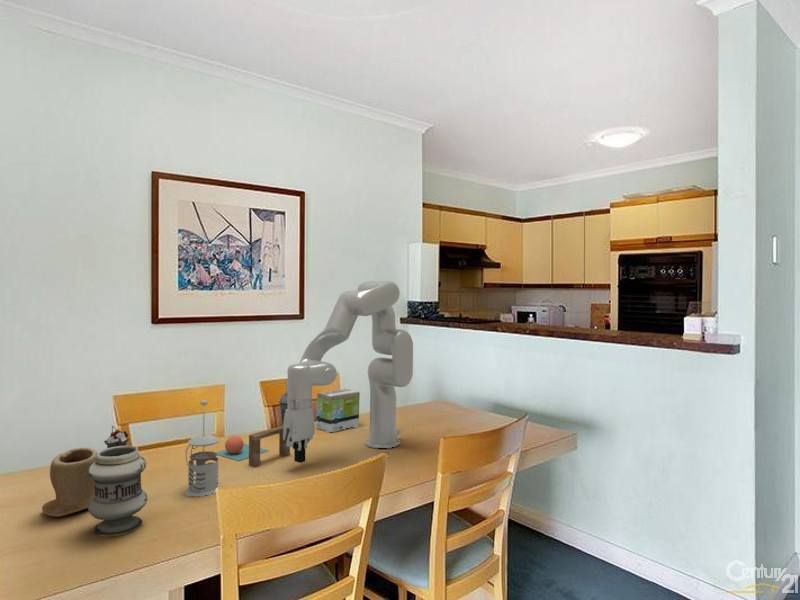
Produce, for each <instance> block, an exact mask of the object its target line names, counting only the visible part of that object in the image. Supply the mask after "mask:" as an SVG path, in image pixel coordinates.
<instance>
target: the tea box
mask: <svg viewBox="0 0 800 600" xmlns="http://www.w3.org/2000/svg"><path fill="white" fill-rule="evenodd" d="M360 394H361V393H360V391H356V390H352V389H346V388H343V389H335V390H330V391H329V390H328V391H322V392H317V394H316V419H315V420H316V421H315V423H316V424H315V429H317V428H318V429H317V430H320V429H321V431H323V430H324V432H326V431H328V432H327V433H330V432H332V433H334V432H335V433H336V432H339V431H343V429H344V430H347V429H346V428H349V429H351V428H350V427H354V426H357V425H359V423H360V398H361V397H360ZM359 426H360V425H359ZM354 428H355V427H354Z"/></svg>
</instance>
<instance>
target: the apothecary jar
mask: <svg viewBox="0 0 800 600" xmlns="http://www.w3.org/2000/svg"><path fill="white" fill-rule="evenodd" d="M146 467H147V460H146V459H145V458H144V456H142V455H141V454H140V452H139V448H138V447H137V446H135V445H126V446H117V447H111V448H107V447H106V448H104V449H101V450H100V451H97V458H96V461H95V462H94V463H93V464H92V465H91V466H90V468H89V471H88V473H89V476H90V477H91V478H92V479H93V480H94V481H95V496H94V498H93V499H92V500H91V502H90V504H89V507H88V508H87V509H88V513H89V514H90V515H91V516H92V518H94V519H97V520H101V522H99V523H97V525H95V527H94V529H93V533H94V534H97V536H99V537H104V538H105V537H106V538H109V537H111V538H112V537H118V536H123V535H126V534H129V533H131V532H134V531H136V530H137V529H139V528H140V527H141V526H142V523H143V520H142V519H141V518H140V516H137V515H136V514H137V513H138V512H140V511H142V509H143V508H144V507H145V506H146V505H147V502H148V494H147V492H146V491H145V490H144V489H143V488H142V474H141V473H143V472H144V471H145V470H146Z"/></svg>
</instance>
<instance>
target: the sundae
mask: <svg viewBox="0 0 800 600" xmlns="http://www.w3.org/2000/svg"><path fill="white" fill-rule="evenodd" d="M110 428H112V430H111V432H110V435H109V436H108V437H107V438H106V440H104V444H105V445H106V449H107V448H111V447H117V446H127V442H129V441H130V437H129V433H127V431H126V430H125V431H122V430H119V429H116V428H115V426H114V425H112V426H111V427H110ZM114 429H115V431H114Z"/></svg>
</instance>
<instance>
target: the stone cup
mask: <svg viewBox="0 0 800 600" xmlns="http://www.w3.org/2000/svg"><path fill="white" fill-rule="evenodd" d="M97 454H98V451H96V449H94V448H91V447H77V448H72V449H69V450H67V451H65V452H64V453H60V454H58V455H56V456H55V457H54V458H53V459H52V461H51V463H50V467H49V477H50V478H49V479H50V483H51V485H52V488H53V490H54V493H55V499H51V500H49V501H48V502H45V503H44V504H43V505H42V507H41V511H42V512H43V514H45V515H47V516H49V517H56V518H57V517H63V516H67V515H70V514H75V513H77V512H80V511H83V510H86V509H88V507H89V504H90V502H91V500H92V499H93V498H94V496H95V481H94V480H93V479H92V478H91V477H90V476H89V473H88V471H89V468H90V466H91V465H92V464H93V463H94V462H95V461H96V458H97Z"/></svg>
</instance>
